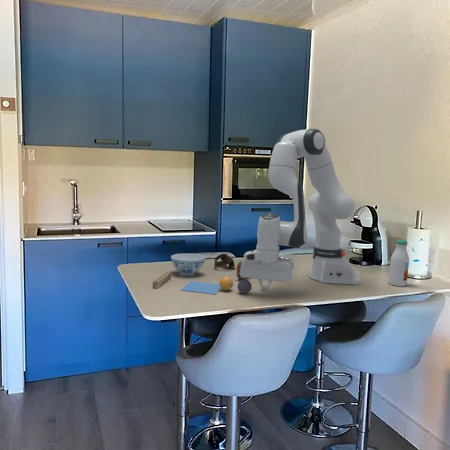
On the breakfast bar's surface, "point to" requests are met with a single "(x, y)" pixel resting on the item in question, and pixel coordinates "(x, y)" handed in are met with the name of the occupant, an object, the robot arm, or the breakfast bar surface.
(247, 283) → the grey ball
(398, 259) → the milk bottle
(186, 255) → the chinaware
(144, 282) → the breakfast bar surface
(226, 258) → the brown hollow arched shell
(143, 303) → the breakfast bar surface
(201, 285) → the blue mark
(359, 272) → the breakfast bar surface
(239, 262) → the tin
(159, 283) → the wood strip
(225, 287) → the orange ball
